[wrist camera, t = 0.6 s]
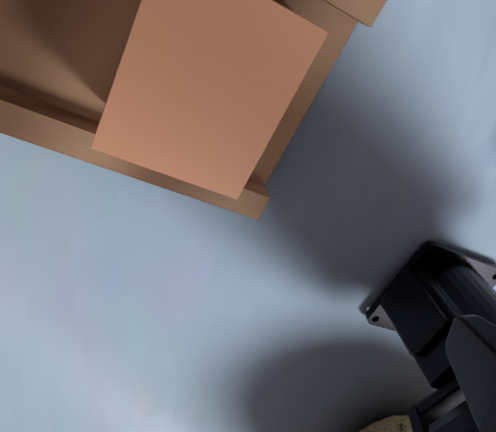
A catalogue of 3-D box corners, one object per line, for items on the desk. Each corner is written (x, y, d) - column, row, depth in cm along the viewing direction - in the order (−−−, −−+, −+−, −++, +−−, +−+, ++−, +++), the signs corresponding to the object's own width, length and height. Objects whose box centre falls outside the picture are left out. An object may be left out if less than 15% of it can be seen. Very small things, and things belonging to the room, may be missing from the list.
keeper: (293, 11, 16) (328, 32, 12) (223, 151, 18) (237, 199, 15) (162, -64, 14) (162, -61, 11) (105, 104, 16) (90, 148, 13)
